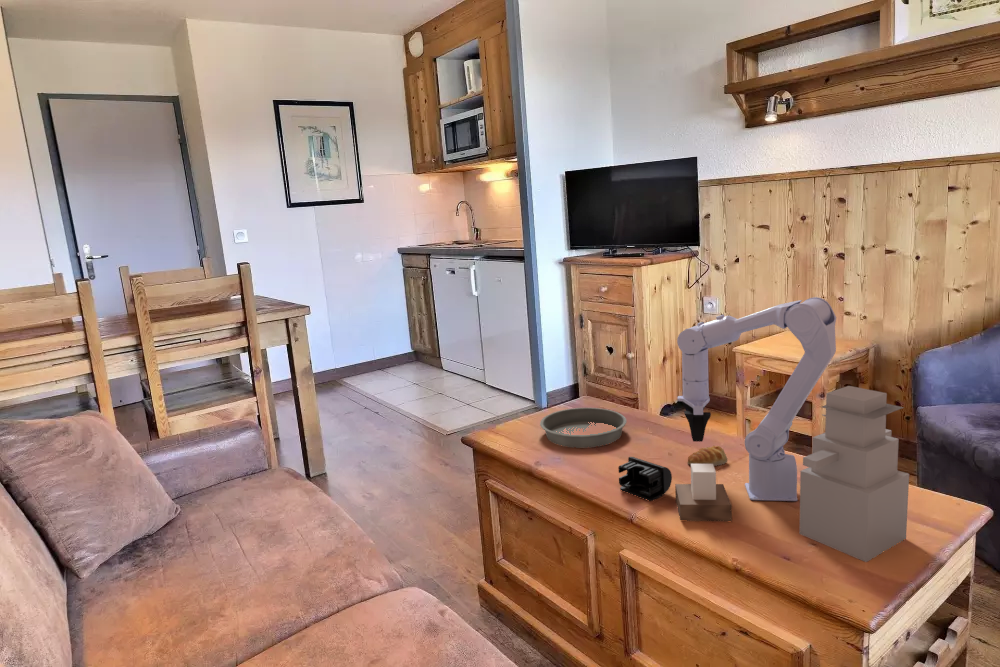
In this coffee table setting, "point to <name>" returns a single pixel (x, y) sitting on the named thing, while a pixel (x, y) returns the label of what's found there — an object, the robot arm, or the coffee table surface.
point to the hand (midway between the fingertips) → (696, 435)
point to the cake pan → (582, 426)
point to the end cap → (644, 479)
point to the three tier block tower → (854, 478)
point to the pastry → (708, 456)
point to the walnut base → (703, 505)
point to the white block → (703, 481)
